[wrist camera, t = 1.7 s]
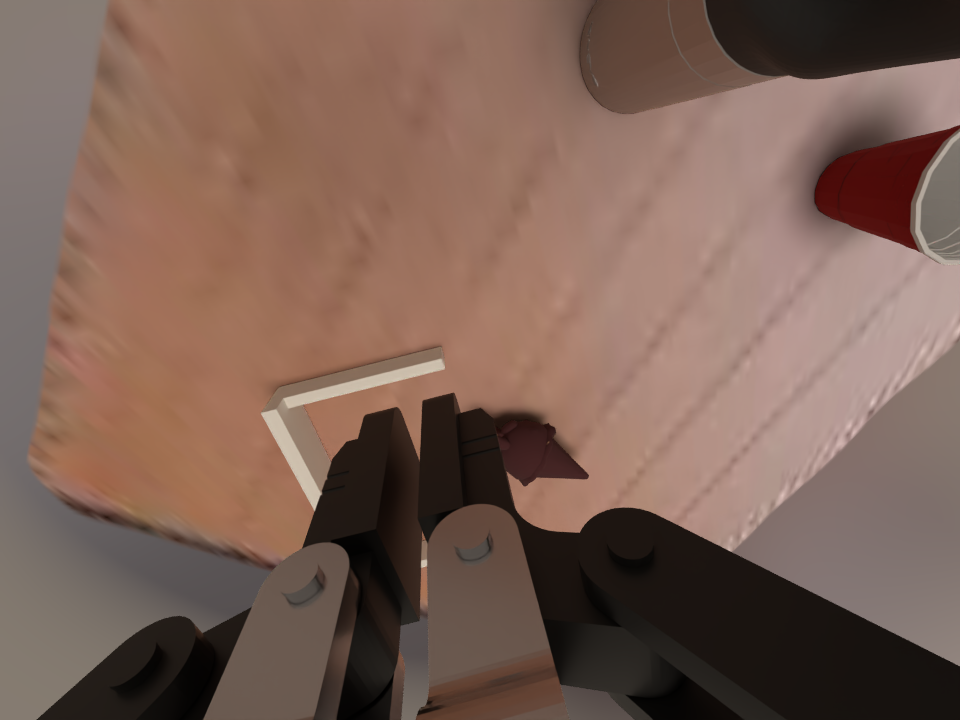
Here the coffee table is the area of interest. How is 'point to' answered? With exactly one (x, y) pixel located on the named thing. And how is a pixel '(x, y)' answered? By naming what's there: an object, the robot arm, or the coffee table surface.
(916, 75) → the coffee table surface
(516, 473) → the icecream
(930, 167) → the plastic cup
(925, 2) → the robot arm
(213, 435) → the coffee table surface
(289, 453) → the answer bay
